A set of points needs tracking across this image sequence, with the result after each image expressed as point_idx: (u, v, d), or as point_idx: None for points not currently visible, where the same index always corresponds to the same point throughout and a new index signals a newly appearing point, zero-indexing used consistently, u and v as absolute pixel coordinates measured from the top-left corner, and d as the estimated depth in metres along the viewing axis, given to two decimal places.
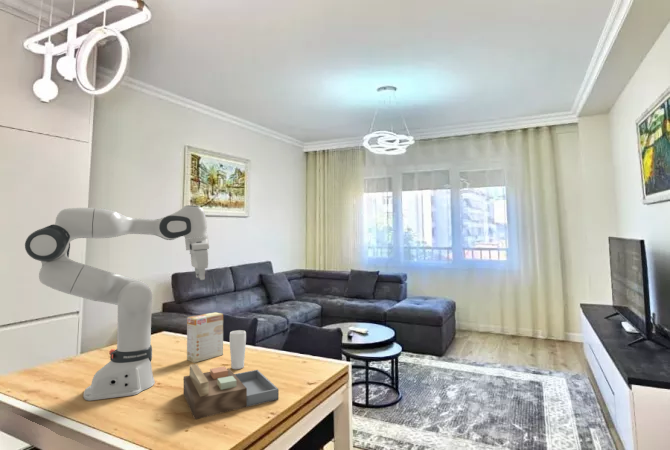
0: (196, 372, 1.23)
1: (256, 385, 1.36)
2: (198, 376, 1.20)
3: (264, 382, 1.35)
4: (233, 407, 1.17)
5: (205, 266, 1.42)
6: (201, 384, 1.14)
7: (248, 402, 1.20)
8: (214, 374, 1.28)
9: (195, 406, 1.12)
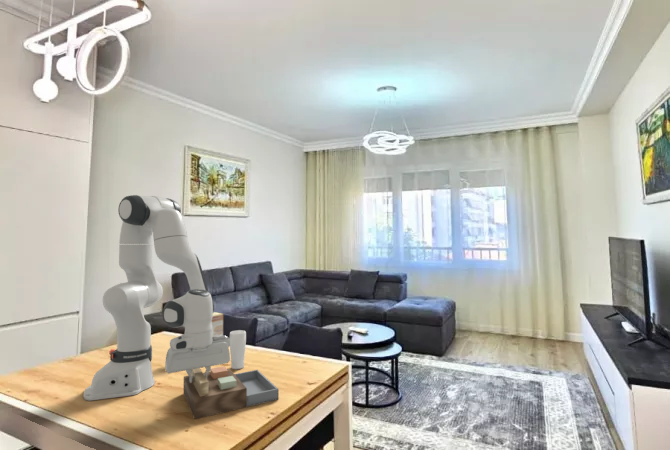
0: (196, 372, 1.23)
1: (256, 385, 1.36)
2: (198, 376, 1.20)
3: (264, 382, 1.35)
4: (233, 407, 1.17)
5: (166, 370, 1.17)
6: (201, 384, 1.14)
7: (248, 402, 1.20)
8: (214, 374, 1.28)
9: (195, 406, 1.12)
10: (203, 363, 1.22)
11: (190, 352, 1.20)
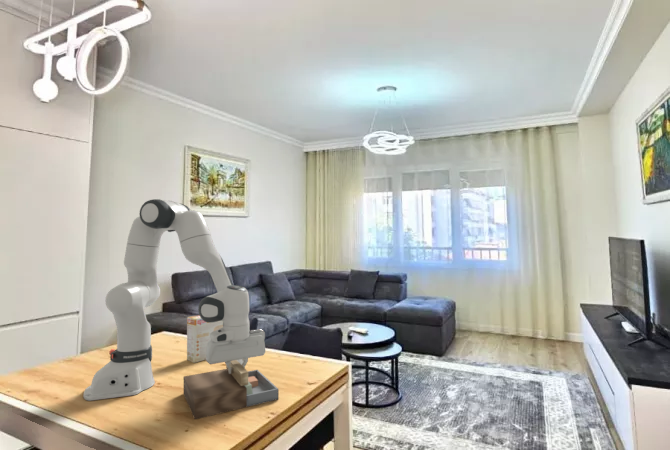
0: (234, 363, 1.29)
1: None
2: (237, 366, 1.26)
3: (264, 382, 1.35)
4: (233, 407, 1.17)
5: (207, 361, 1.23)
6: (241, 374, 1.20)
7: (248, 402, 1.20)
8: (257, 384, 1.35)
9: (195, 406, 1.12)
10: (241, 355, 1.28)
11: (229, 345, 1.27)
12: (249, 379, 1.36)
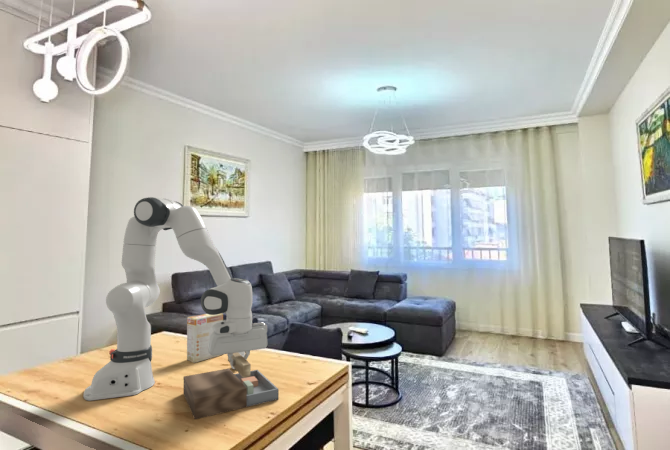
0: (236, 356, 1.30)
1: None
2: (239, 359, 1.27)
3: (264, 382, 1.35)
4: (233, 407, 1.17)
5: (210, 353, 1.24)
6: (244, 366, 1.21)
7: (248, 402, 1.20)
8: (257, 384, 1.35)
9: (195, 406, 1.12)
10: (243, 347, 1.29)
11: (231, 337, 1.27)
12: (249, 379, 1.36)
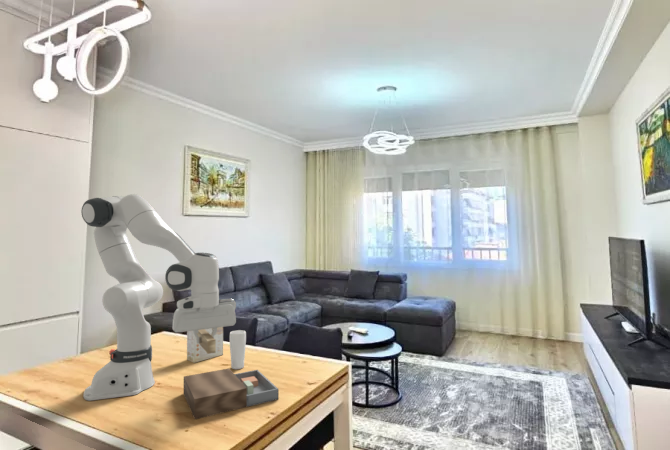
0: (203, 333, 1.24)
1: None
2: (205, 335, 1.21)
3: (264, 382, 1.35)
4: (233, 407, 1.17)
5: (173, 329, 1.19)
6: (208, 342, 1.15)
7: (248, 402, 1.20)
8: (257, 384, 1.35)
9: (195, 406, 1.12)
10: (210, 324, 1.23)
11: (196, 313, 1.22)
12: (249, 379, 1.36)
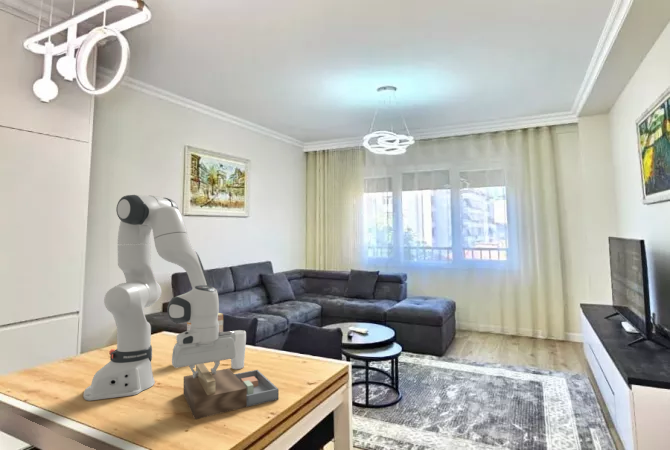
0: (203, 371, 1.24)
1: None
2: (205, 374, 1.21)
3: (264, 382, 1.35)
4: (233, 407, 1.17)
5: (173, 365, 1.18)
6: (208, 383, 1.15)
7: (248, 402, 1.20)
8: (257, 384, 1.35)
9: (195, 406, 1.12)
10: (209, 358, 1.23)
11: (196, 347, 1.21)
12: (249, 379, 1.36)
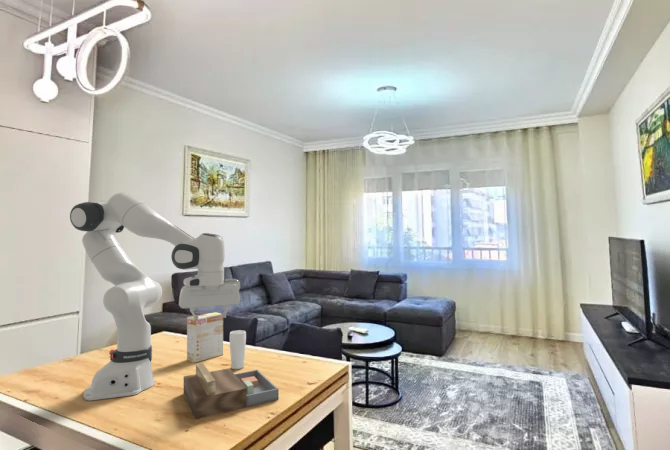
0: (203, 371, 1.24)
1: None
2: (205, 374, 1.21)
3: (264, 382, 1.35)
4: (233, 407, 1.17)
5: (180, 305, 1.24)
6: (208, 383, 1.15)
7: (248, 402, 1.20)
8: (257, 384, 1.35)
9: (195, 406, 1.12)
10: (214, 302, 1.28)
11: (202, 291, 1.27)
12: (249, 379, 1.36)
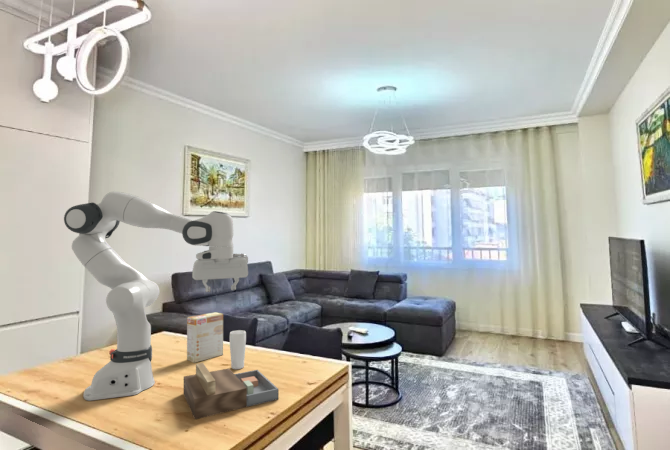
0: (203, 371, 1.24)
1: None
2: (205, 374, 1.21)
3: (264, 382, 1.35)
4: (233, 407, 1.17)
5: (193, 277, 1.34)
6: (208, 383, 1.15)
7: (248, 402, 1.20)
8: (257, 384, 1.35)
9: (195, 406, 1.12)
10: (225, 274, 1.39)
11: (214, 264, 1.37)
12: (249, 379, 1.36)
